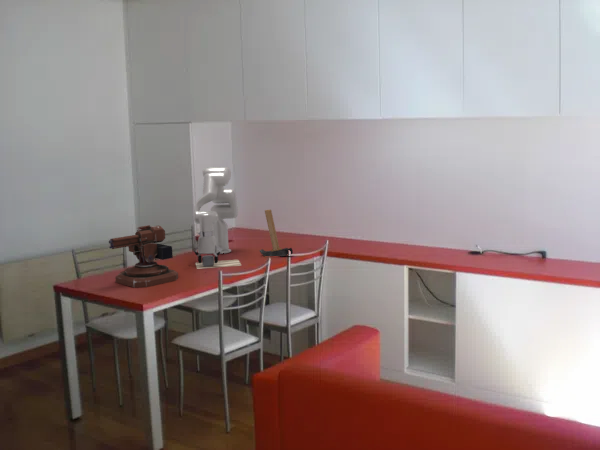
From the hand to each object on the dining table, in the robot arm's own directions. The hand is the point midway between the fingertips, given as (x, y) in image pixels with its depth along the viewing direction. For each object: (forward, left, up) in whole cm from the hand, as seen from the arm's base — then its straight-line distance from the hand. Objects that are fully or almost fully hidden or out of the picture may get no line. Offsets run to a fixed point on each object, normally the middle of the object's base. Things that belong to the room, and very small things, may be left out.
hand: (208, 262), depth 412 cm
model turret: (+22, -38, -3) cm, 44 cm away
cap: (0, 0, -1) cm, 1 cm away
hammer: (-20, +44, -3) cm, 48 cm away
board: (-3, +6, -3) cm, 7 cm away
